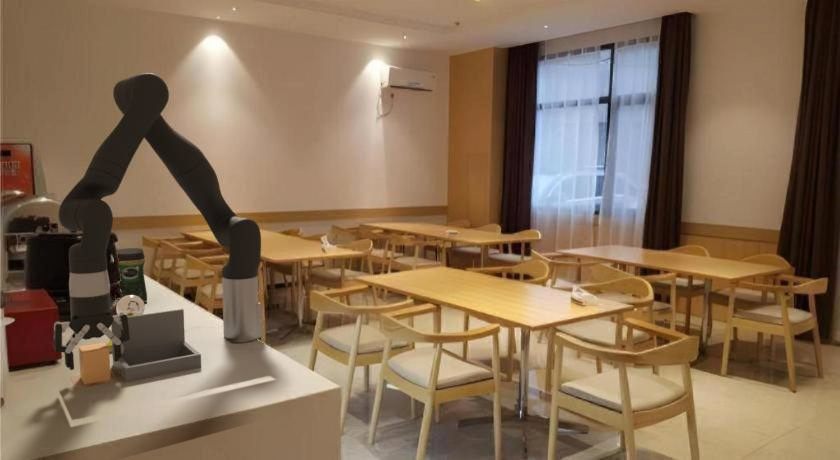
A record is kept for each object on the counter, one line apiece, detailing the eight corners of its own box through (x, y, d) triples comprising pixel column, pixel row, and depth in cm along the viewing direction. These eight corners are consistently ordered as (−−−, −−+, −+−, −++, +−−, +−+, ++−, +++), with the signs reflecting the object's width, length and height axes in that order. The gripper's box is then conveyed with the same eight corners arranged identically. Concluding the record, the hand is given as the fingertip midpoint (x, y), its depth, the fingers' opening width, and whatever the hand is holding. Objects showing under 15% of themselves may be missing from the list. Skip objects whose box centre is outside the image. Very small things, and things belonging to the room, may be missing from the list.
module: (105, 372, 133) (104, 342, 133) (110, 379, 129) (108, 348, 129) (80, 377, 130) (78, 346, 130) (84, 384, 126) (82, 352, 126)
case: (184, 355, 148) (182, 308, 147) (201, 370, 138) (199, 320, 137) (113, 369, 138) (110, 318, 137) (126, 386, 128) (123, 332, 127)
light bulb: (111, 340, 160) (109, 296, 159) (132, 333, 166) (130, 291, 165) (131, 343, 157) (128, 299, 156) (151, 336, 164) (149, 293, 162)
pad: (111, 373, 136) (111, 369, 135) (118, 384, 129) (118, 380, 129) (70, 381, 131) (70, 377, 130) (76, 393, 124) (76, 388, 124)
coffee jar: (146, 298, 206) (144, 245, 204) (148, 304, 199) (145, 249, 197) (115, 301, 202) (112, 247, 199) (115, 307, 195) (112, 250, 192)
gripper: (122, 284, 135) (125, 353, 137) (48, 292, 126) (53, 366, 128) (130, 290, 129) (133, 363, 131) (53, 299, 120) (58, 376, 122)
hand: (93, 364), depth 129 cm, fingers open, 8 cm apart
